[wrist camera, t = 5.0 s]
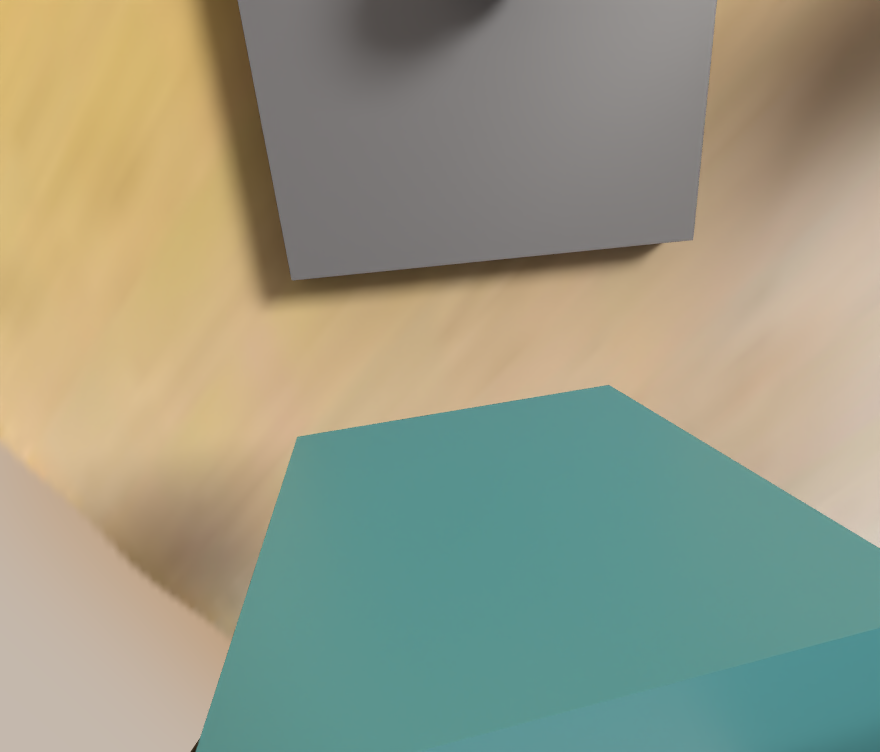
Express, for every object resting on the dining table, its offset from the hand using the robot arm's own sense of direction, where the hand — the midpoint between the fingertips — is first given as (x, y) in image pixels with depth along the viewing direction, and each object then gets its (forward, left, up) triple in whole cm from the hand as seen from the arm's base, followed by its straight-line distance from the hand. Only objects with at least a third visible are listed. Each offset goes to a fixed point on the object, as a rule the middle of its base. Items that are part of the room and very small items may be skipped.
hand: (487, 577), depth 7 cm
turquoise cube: (0, 0, -1) cm, 1 cm away
